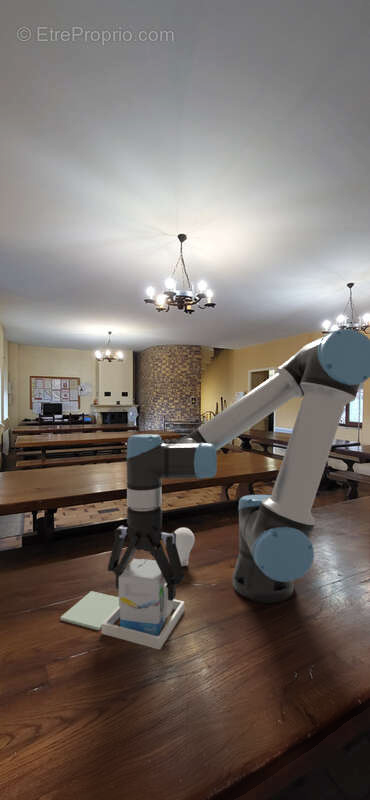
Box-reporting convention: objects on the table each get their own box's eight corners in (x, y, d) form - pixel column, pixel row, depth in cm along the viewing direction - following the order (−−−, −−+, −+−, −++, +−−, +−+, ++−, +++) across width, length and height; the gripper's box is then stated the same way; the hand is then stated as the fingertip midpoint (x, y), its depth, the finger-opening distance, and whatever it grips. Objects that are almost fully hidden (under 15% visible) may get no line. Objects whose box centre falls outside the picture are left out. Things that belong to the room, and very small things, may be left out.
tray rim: (184, 610, 77) (184, 601, 77) (160, 649, 65) (159, 639, 65) (133, 598, 82) (133, 590, 82) (101, 633, 70) (101, 623, 70)
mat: (126, 601, 81) (126, 599, 81) (98, 630, 71) (98, 627, 71) (91, 593, 85) (91, 591, 85) (60, 619, 74) (60, 617, 74)
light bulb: (168, 569, 96) (167, 530, 97) (177, 559, 103) (177, 523, 103) (189, 573, 94) (189, 533, 94) (198, 563, 100) (197, 525, 100)
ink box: (158, 637, 69) (158, 579, 69) (119, 632, 70) (118, 575, 70) (169, 612, 77) (168, 560, 77) (133, 607, 79) (133, 557, 79)
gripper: (199, 506, 73) (200, 609, 73) (109, 496, 81) (110, 589, 81) (187, 517, 66) (188, 631, 66) (90, 505, 74) (90, 607, 74)
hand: (145, 608), depth 74 cm, fingers open, 10 cm apart
